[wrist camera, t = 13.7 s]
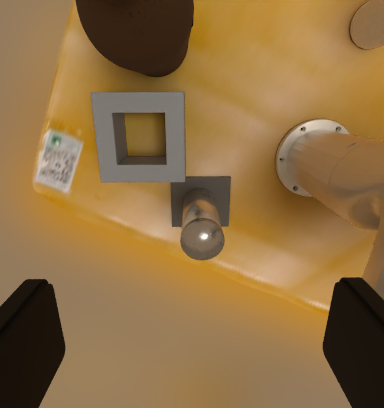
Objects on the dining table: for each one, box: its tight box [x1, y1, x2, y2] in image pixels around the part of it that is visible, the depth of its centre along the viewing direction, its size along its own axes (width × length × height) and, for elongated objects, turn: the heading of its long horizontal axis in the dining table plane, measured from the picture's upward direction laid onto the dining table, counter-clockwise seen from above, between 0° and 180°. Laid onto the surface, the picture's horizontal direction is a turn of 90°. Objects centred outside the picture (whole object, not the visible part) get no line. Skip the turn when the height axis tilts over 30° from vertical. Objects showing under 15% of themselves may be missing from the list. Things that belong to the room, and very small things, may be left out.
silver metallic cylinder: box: [181, 188, 224, 260], centre depth 42 cm, size 6×6×14 cm
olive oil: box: [76, 0, 194, 77], centre depth 29 cm, size 11×11×25 cm
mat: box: [171, 177, 231, 227], centre depth 48 cm, size 10×9×1 cm
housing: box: [91, 92, 186, 182], centre depth 41 cm, size 12×12×7 cm
